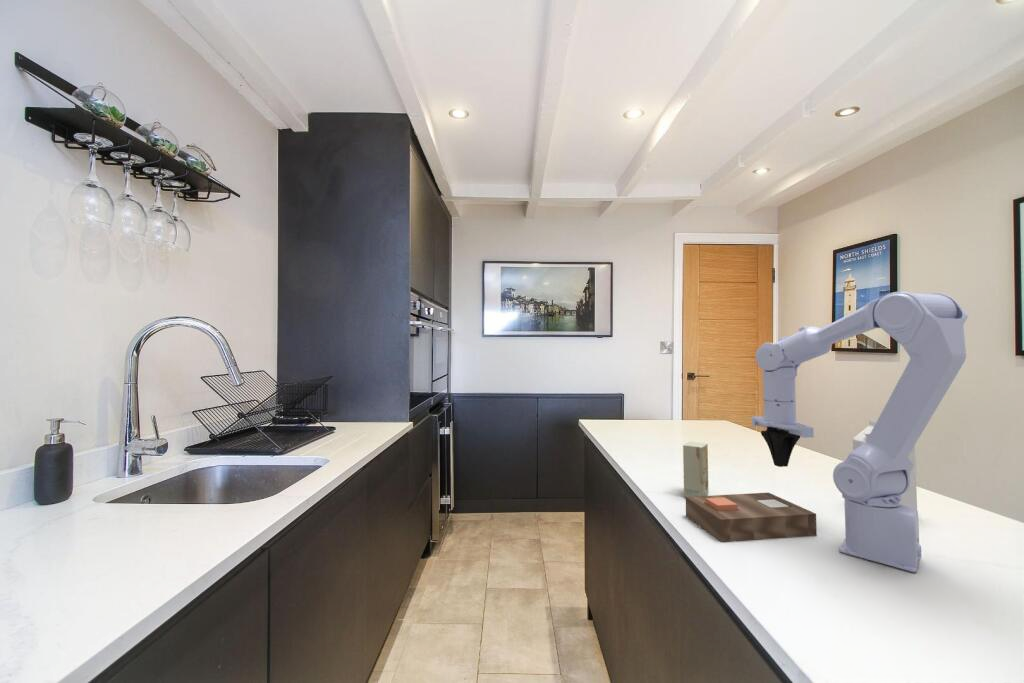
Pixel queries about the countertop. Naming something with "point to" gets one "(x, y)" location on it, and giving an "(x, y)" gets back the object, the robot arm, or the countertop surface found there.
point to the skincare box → (695, 469)
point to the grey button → (772, 503)
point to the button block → (751, 518)
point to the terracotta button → (721, 504)
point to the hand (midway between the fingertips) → (781, 465)
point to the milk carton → (911, 494)
